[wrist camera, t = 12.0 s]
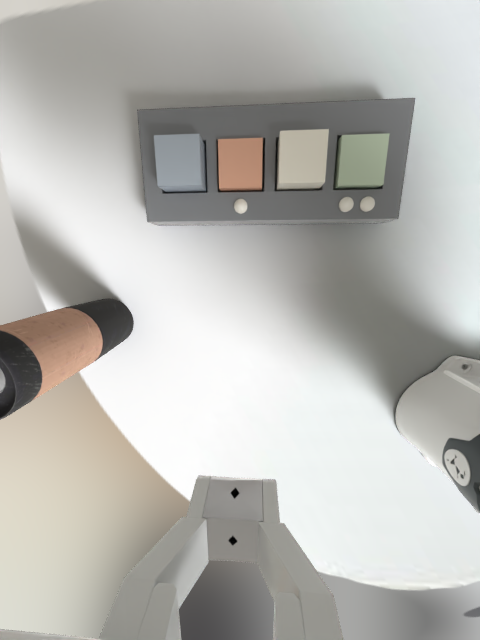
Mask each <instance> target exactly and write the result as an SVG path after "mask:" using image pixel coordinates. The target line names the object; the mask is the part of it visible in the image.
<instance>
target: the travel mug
mask: <svg viewBox="0 0 480 640" xmlns="http://www.w3.org/2000/svg"><path fill="white" fill-rule="evenodd" d="M132 330H133V317H132V314H131V312H130V311H129V309H128V308H127V307H126V306H125V305H124V304H123V303H121V302H119V301H117V300H114V299H102V300H97V301H92V302H88V303H83V304H79V305H75V306H70V307H66V308H62V309H58V310H54V311H50V312H47V313H43V314H40V315H36V316H32V317H29V318H26V319H22V320H18V321H15V322H11V323H7V324H4V325H0V419H2V418H5V417H7V416H8V415H10V414H12V413H13V412H15V411H16V410H18V409H19V408H21V407H22V406H24V405H26V404H27V403H29V402H31V401H32V400H34V399H35V398H37V397H39V396H40V395H42V394H43V393H45V392H47V391H48V390H50V389H51V388H53V387H55V386H56V385H58V384H59V383H61V382H62V381H64V380H66V379H67V378H69V377H71V376H72V375H74V374H75V373H77V372H78V371H80V370H82V369H83V368H85V367H86V366H88V365H90V364H91V363H93V362H94V361H96V360H97V359H99V358H100V357H101V356H103V355H104V354H106V353H107V352H108V351H110V350H111V349H113V348H114V347H116V346H117V345H118V344H120V343H121V342H123V341H124V340H125V339H126V338H128V336H129V335H130V334H131V332H132Z"/></svg>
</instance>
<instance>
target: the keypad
mask: <svg viewBox="0 0 480 640" xmlns="http://www.w3.org/2000/svg"><path fill="white" fill-rule="evenodd" d="M414 103H415V98H402V99H379V100H355V101H332V102H308V103H285V104H261V105H238V106H214V107H191V108H167V109H144V110H137V111H138V123H139V134H140V145H141V157H142V168H143V179H144V191H145V202H146V213H147V222H149V223H153V224H156V225H159V226H167V225H252V224H336V223H384V222H387V221H391V220H395V219H398V217H399V209H400V202H401V195H402V188H403V181H404V174H405V167H406V160H407V153H408V146H409V139H410V132H411V124H412V117H413V110H414ZM316 129H329V135H328V148H327V162H326V176H325V183H324V184H323V185H322V186H321V187H320V188H319V189H318V191H276V174H277V146H278V140H279V135H280V131H288V130H316ZM387 133H390V135H389V143H388V151H387V159H386V167H385V175H384V184H383V185H382V186H380V187H378V188H377V189H369V190H333V184H334V172H335V159H336V147H337V142H338V140H339V139H340V137H341V136H342V135H358V134H387ZM176 134H200V136H201V138H202V140H203V143H204V145H205V147H206V155H207V186H208V193H171V194H168V193H167V192H165V191H164V190H163V189H161V188H160V187H158V184H157V171H156V158H155V145H154V135H176ZM239 138H263V151H262V192H221V191H220V189H219V162H218V139H239Z"/></svg>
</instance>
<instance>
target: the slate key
mask: <svg viewBox="0 0 480 640" xmlns="http://www.w3.org/2000/svg"><path fill="white" fill-rule="evenodd" d="M154 145H155V158H156V171H157V184H158V187H160V188H161V189H163V190H164V191H165V192H167V193H168V194H171V193H208V186H207V155H206V147H205V145H204V143H203V140H202V138H201V136H200V134H176V135H154Z"/></svg>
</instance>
